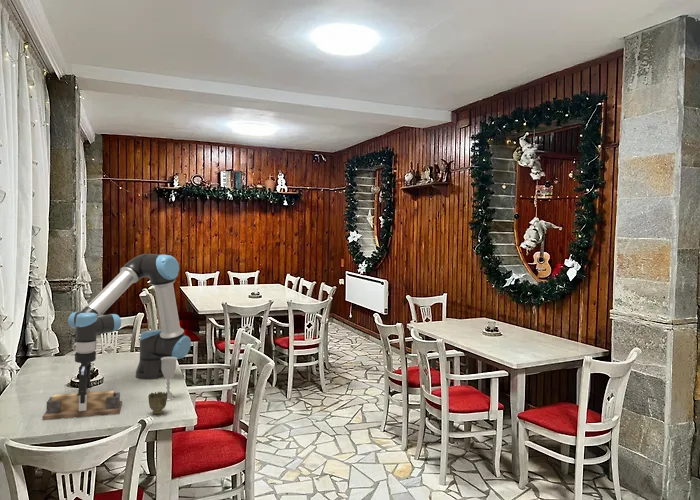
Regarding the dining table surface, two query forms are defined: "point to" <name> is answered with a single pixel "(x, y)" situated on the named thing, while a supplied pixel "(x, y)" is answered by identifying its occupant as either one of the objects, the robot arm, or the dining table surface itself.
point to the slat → (93, 400)
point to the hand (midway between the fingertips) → (84, 407)
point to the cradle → (54, 411)
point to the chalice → (168, 371)
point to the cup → (157, 401)
